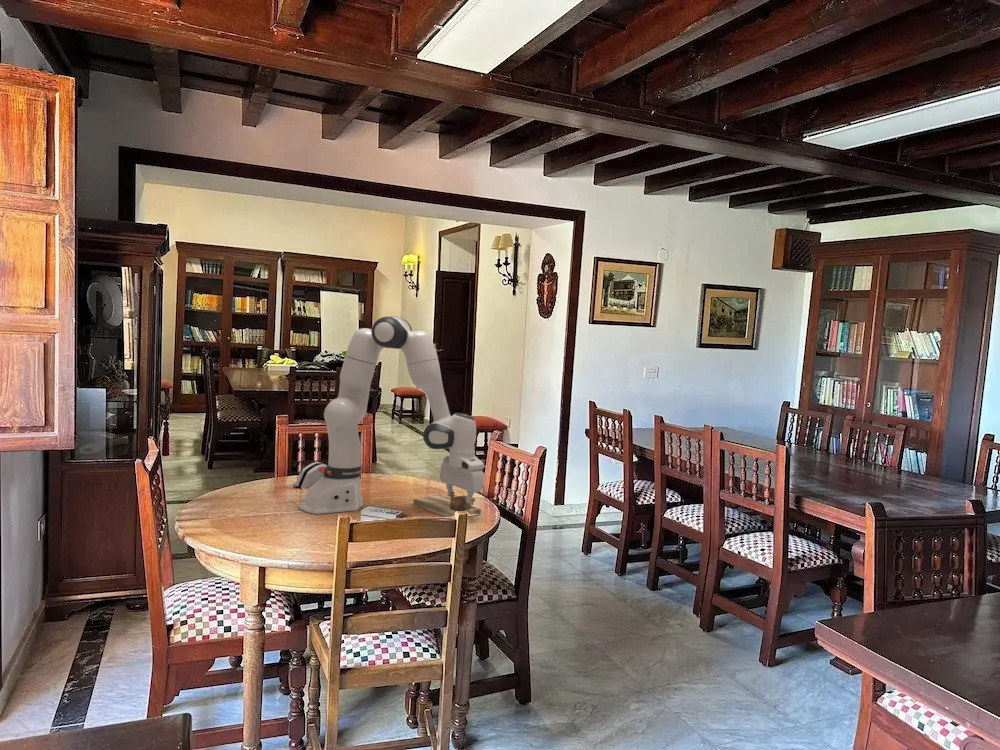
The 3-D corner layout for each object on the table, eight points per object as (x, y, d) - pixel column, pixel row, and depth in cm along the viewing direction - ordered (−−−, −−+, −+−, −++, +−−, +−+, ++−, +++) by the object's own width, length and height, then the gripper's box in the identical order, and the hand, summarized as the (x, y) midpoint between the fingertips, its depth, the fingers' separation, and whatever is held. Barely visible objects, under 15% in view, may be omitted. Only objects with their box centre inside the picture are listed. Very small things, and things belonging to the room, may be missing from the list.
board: (453, 519, 229) (453, 513, 229) (413, 504, 247) (413, 498, 247) (480, 514, 237) (480, 509, 237) (439, 500, 255) (440, 494, 255)
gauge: (454, 511, 232) (455, 500, 232) (447, 509, 235) (448, 497, 235) (477, 507, 239) (477, 496, 239) (470, 505, 242) (470, 494, 242)
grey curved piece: (313, 479, 280) (322, 457, 278) (323, 484, 279) (331, 462, 277) (291, 487, 263) (299, 464, 262) (301, 493, 262) (310, 469, 261)
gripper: (436, 455, 241) (434, 493, 242) (473, 466, 226) (470, 507, 226) (450, 454, 245) (448, 492, 246) (487, 465, 230) (484, 505, 231)
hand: (459, 499), depth 236 cm, fingers open, 8 cm apart
